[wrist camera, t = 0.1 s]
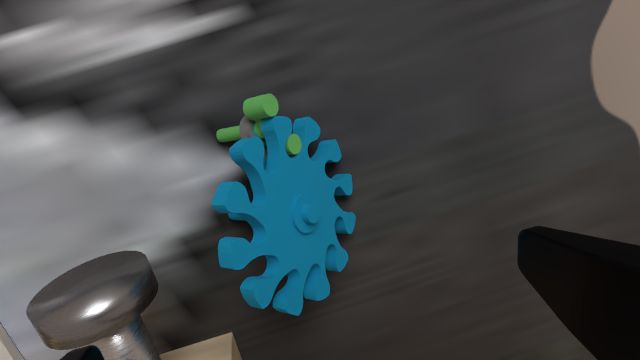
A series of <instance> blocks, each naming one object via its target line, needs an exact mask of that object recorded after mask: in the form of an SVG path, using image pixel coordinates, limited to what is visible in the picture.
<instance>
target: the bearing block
mask: <svg viewBox="0 0 640 360" xmlns="http://www.w3.org/2000/svg"><path fill="white" fill-rule="evenodd" d="M159 356H160V358H161V360H242V358H241V355H240V352H239V350H238V347H237V344H236V342H235V339H234V336H233V333H232V332H230V333H227V334H224V335H221V336H218V337H214V338H211V339H208V340H205V341H201V342H198V343H195V344H192V345H189V346H185V347H182V348H179V349H176V350H173V351H169V352H166V353H163V354H160V355H159Z"/></svg>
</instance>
